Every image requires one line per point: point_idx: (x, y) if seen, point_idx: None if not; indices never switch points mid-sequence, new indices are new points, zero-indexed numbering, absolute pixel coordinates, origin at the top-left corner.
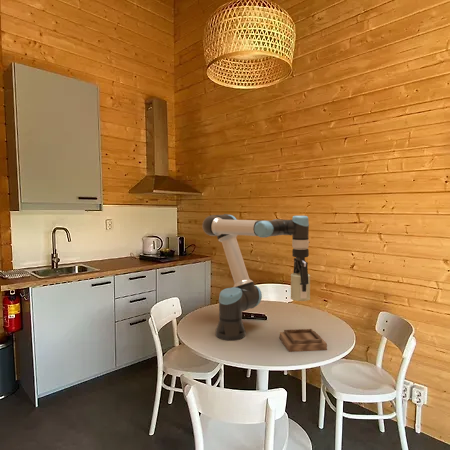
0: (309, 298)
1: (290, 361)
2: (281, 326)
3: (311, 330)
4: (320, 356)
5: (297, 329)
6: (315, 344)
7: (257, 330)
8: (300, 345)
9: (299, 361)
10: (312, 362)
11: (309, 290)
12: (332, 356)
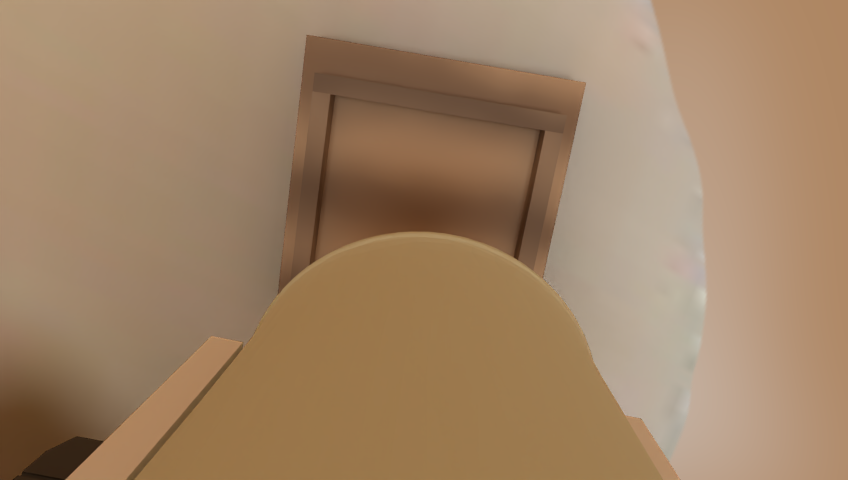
0: (559, 305)
1: (639, 400)
2: (57, 199)
3: (354, 92)
4: (646, 188)
5: (302, 201)
6: (564, 177)
7: (114, 404)
8: None
9: (659, 351)
10: (701, 283)
11: (592, 373)
12: (677, 106)
